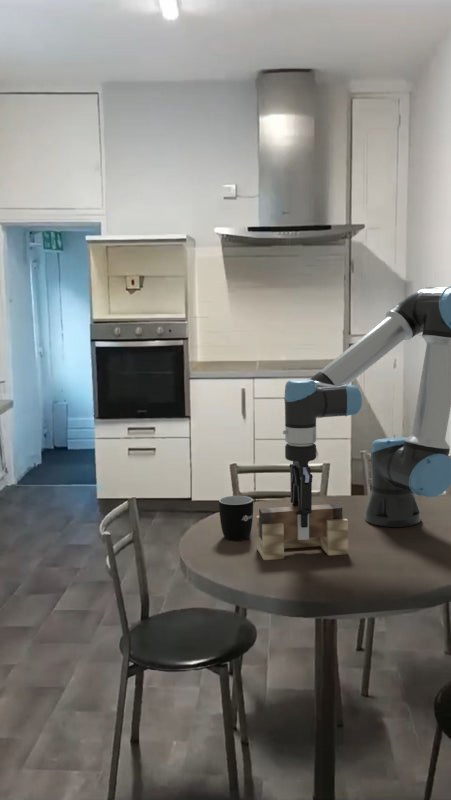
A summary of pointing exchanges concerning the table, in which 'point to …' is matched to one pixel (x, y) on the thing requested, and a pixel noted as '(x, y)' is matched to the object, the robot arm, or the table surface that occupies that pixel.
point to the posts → (275, 542)
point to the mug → (236, 517)
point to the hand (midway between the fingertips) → (300, 536)
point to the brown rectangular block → (290, 519)
